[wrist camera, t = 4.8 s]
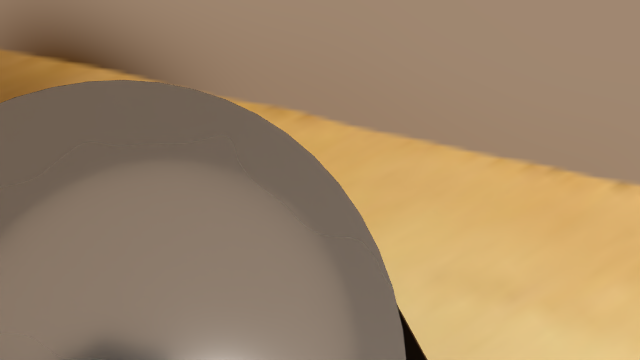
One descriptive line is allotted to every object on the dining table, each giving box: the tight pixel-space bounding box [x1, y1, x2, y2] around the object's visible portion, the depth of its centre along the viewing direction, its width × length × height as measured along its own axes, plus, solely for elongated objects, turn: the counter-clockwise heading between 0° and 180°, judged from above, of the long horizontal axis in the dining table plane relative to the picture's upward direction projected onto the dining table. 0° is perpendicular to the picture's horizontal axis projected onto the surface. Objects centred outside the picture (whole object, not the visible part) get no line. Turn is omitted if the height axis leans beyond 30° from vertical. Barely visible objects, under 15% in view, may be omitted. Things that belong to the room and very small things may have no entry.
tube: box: [0, 80, 406, 360], centre depth 9 cm, size 5×5×12 cm
